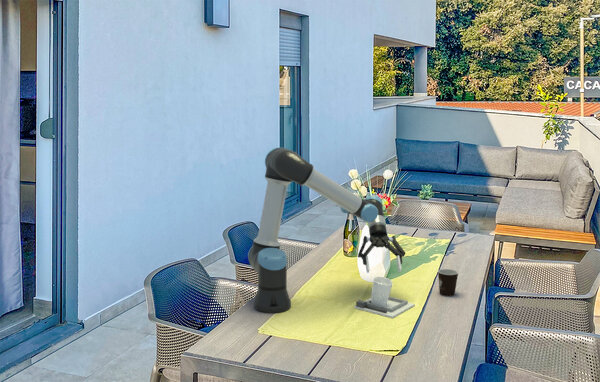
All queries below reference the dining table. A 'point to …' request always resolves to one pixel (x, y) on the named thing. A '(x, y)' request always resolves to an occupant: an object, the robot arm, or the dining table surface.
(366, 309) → the dock
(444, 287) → the coffee mug
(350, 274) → the dining table surface
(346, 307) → the dining table surface
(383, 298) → the white cup
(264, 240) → the robot arm
